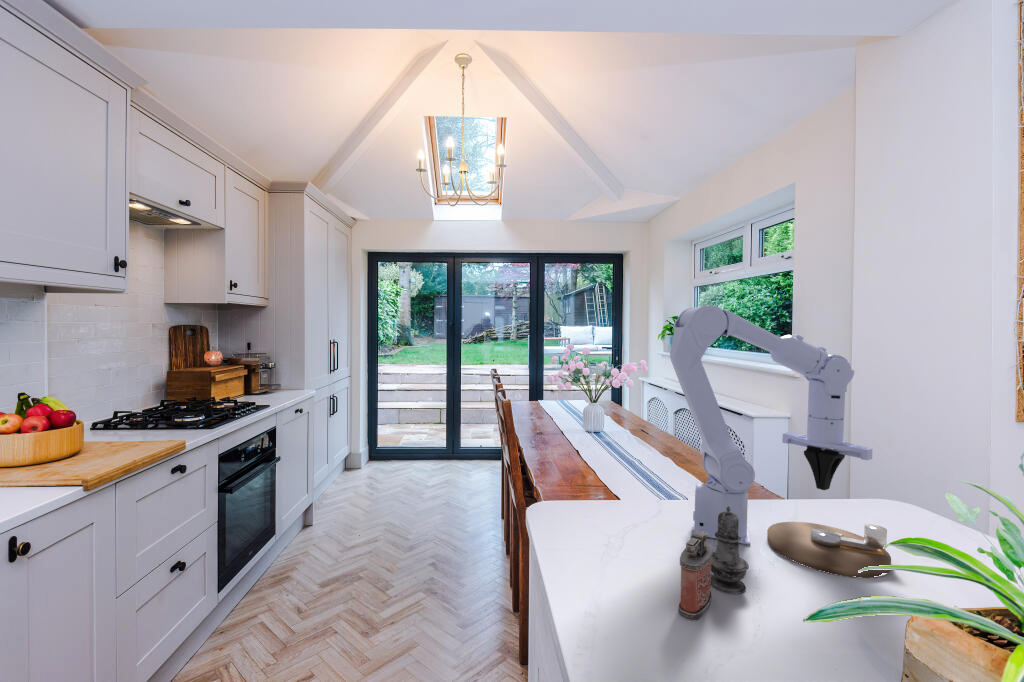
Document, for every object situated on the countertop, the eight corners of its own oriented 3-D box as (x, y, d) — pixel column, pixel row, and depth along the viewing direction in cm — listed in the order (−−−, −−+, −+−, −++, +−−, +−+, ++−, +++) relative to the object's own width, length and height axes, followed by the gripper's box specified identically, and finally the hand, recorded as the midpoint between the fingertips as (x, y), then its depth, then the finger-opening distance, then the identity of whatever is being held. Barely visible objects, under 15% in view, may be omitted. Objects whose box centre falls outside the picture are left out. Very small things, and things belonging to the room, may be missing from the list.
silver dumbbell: (811, 542, 80) (812, 520, 80) (809, 533, 84) (810, 512, 84) (889, 558, 75) (890, 534, 75) (883, 547, 79) (883, 524, 79)
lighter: (692, 589, 68) (694, 522, 68) (716, 597, 66) (718, 529, 66) (673, 614, 62) (674, 541, 62) (698, 624, 60) (700, 548, 60)
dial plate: (772, 562, 77) (772, 552, 77) (763, 522, 93) (763, 514, 93) (908, 588, 69) (908, 577, 69) (872, 540, 85) (872, 531, 85)
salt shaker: (753, 597, 66) (755, 515, 66) (710, 592, 67) (712, 511, 67) (741, 576, 72) (743, 501, 72) (702, 572, 73) (703, 497, 73)
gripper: (880, 422, 82) (877, 497, 83) (796, 409, 95) (793, 474, 95) (863, 425, 79) (860, 503, 79) (777, 412, 91) (775, 479, 91)
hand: (822, 488), depth 87 cm, fingers closed
